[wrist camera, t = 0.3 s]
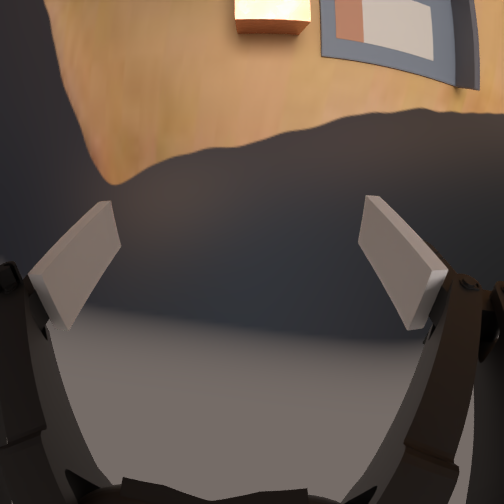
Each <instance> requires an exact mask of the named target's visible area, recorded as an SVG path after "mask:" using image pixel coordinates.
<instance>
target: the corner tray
mask: <svg viewBox="0 0 504 504" xmlns="http://www.w3.org/2000/svg"><path fill="white" fill-rule="evenodd" d="M320 24H321V56H323V57H332V58H340V59H347V60H353V61H360V62H365V63H371V64H376V65H381V66H386V67H390V68H394V69H399V70H403V71H407V72H410V73H414V74H418V75H421V76H425V77H428V78H431V79H435V80H438V81H441V82H444V83H447V84H450V85H453V86H455V87H458V88H465V89H473V90H479V91H480V58H479V40H478V28H477V19H476V12H475V5H474V0H320Z"/></svg>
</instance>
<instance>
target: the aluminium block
mask: <svg viewBox="0 0 504 504" xmlns="http://www.w3.org/2000/svg"><path fill="white" fill-rule="evenodd" d="M235 22H236V27H237V32H238V34H246V33H268V34H293V35H299V34H300V33H301V32H302V31H303V30H304V28H305V27H306V26H307V25H308V24H309V23H310V22H311V16H310V0H235Z"/></svg>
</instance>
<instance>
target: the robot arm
mask: <svg viewBox="0 0 504 504" xmlns="http://www.w3.org/2000/svg"><path fill="white" fill-rule="evenodd" d="M358 244H359V245H360V247H361V248H362V250H363V252H364V253H365V255H366V257H367V258H368V260H369V262H370V263H371V265H372V266H373V268H374V270H375V272H376V273H377V275H378V277H379V279H380V280H381V282H382V284H383V286H384V287H385V289H386V291H387V293H388V295H389V296H390V298H391V300H392V302H393V304H394V305H395V307H396V309H397V311H398V313H399V315H400V317H401V319H402V321H403V322H404V325H405V326H406V328H407V330H414V329H420V328H423V327H424V325H425V323H426V321H427V319H428V317H430V319H431V320H432V322H433V324H432V326H431V328H430V330H429V332H428V334H427V336H426V338H425V340H424V341H423V344H425V346H424V348H423V352H422V354H421V357H420V360H419V363H418V365H417V368H416V371H415V373H414V376H413V378H412V381H411V383H410V386H409V388H408V390H407V393H406V395H405V397H404V400H403V402H402V404H401V406H400V408H399V411H398V413H397V415H396V417H395V419H394V421H393V423H392V425H391V427H390V429H389V431H388V433H387V435H386V437H385V438H384V440H383V442H382V444H381V446H380V448H379V449H378V451H377V453H376V455H375V456H374V458H373V460H372V462H371V463H370V465H369V467H368V468H367V470H366V471H365V473H364V475H363V476H362V477H361V478H360V480H359V481H358V482H357V483H356V484H355V485H354V486H353V488H352V489H351V490H350V492H349V493H348V494H347V495H346V497H345V498H344V499H343V501H342V502H341V503H339V502H337V501H334V500H331V499H328V498H324V497H319V496H314V495H308V492H307V488H306V489H297V490H284V491H265V492H257V493H252V494H248V495H243V496H239V497H233V498H228V499H222V500H216V501H208V500H204V499H201V498H198V497H195V496H192V495H189V494H186V493H183V492H180V491H177V490H175V489H172V488H170V487H167V486H164V485H159V484H153V483H148V482H143V481H138V480H133V479H129V478H125V477H123V480H122V484H120V485H112V484H111V483H110V481H109V480H108V479H107V478H106V476H105V475H104V474H103V473H102V472H101V471H100V470H99V469H98V467H97V465H96V463H95V462H94V459H93V457H92V455H91V453H90V451H89V449H88V447H87V445H86V443H85V440H84V438H83V436H82V433H81V431H80V429H79V426H78V424H77V421H76V419H75V416H74V414H73V411H72V409H71V406H70V403H69V400H68V397H67V394H66V392H65V389H64V385H63V382H62V379H61V376H60V372H59V369H58V365H57V362H56V358H55V354H54V350H53V347H52V342H51V338H50V333H49V330H48V328H47V327H46V325H45V324H46V323H47V321H48V320H49V319H50V321H51V322H52V324H53V326H54V328H55V329H57V330H64V331H69V330H70V328H71V326H72V324H73V322H74V321H75V319H76V317H77V315H78V314H79V312H80V310H81V308H82V307H83V305H84V303H85V302H86V300H87V298H88V297H89V295H90V293H91V292H92V290H93V289H94V287H95V285H96V284H97V282H98V280H99V279H100V277H101V276H102V274H103V272H104V271H105V269H106V268H107V266H108V265H109V263H110V262H111V260H112V259H113V257H114V256H115V255H116V253H117V252H118V250H119V249H120V247H121V244H120V240H119V236H118V232H117V227H116V223H115V219H114V214H113V209H112V204H111V201H102V202H98V203H97V204H96V205H95V206H94V207H93V208H92V209H90V211H88V212H87V213H86V214H85V215H84V216H83V217H82V218H81V219H80V220H79V221H78V222H77V223H76V224H75V225H74V226H73V227H71V228H70V229H69V230H68V231H67V233H66V234H64V235H63V236H62V238H60V239H59V241H58V242H57V243H56V244H55V245H54V246H53V247H52V248H51V249H50V250H49V251H48V252H47V253H46V254H45V255H44V256H43V257H42V258H41V260H40V261H39V262H38V263H37V264H36V265H35V266H34V267H33V268H32V269H31V271H30V272H29V273H28V274H27V275H26V277H25V278H24V279H22V277H21V275H20V273H19V271H18V268H17V266H16V263H15V262H13V261H9V262H6V263H3V264H2V265H0V504H12V502H13V504H448V502H449V499H450V497H451V495H452V492H453V490H454V487H455V485H456V482H457V479H458V476H459V466H457V465H456V464H454V457H455V453H456V451H457V448H458V444H459V441H460V438H461V434H462V431H463V428H464V424H465V420H466V416H467V412H468V408H469V404H470V399H471V395H472V390H473V384H474V441H473V455H472V465H471V474H470V481H469V487H468V493H467V500H466V504H504V281H498V282H496V284H495V286H494V288H493V290H492V291H488V290H483V289H482V287H481V285H480V284H479V282H477V281H476V280H475V279H474V278H472V277H470V276H469V275H465V274H457V273H456V272H455V270H453V268H452V267H451V266H450V265H449V263H448V262H447V261H446V260H445V259H443V257H442V256H441V254H439V253H438V251H437V250H436V249H435V248H434V247H433V246H432V245H431V244H429V243H428V242H426V241H425V240H422V239H421V238H420V237H419V236H418V235H417V234H416V233H415V232H414V231H413V229H412V228H410V226H409V225H408V224H407V223H406V222H405V221H404V220H403V219H402V218H401V217H400V216H399V215H398V214H397V213H396V212H395V211H394V210H393V209H392V208H391V207H389V205H388V204H387V203H386V202H385V201H383V200H382V199H381V198H380V197H379V196H366V198H365V204H364V211H363V218H362V223H361V229H360V234H359V240H358ZM498 335H499V338H497V337H498ZM7 441H8V443H7Z"/></svg>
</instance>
